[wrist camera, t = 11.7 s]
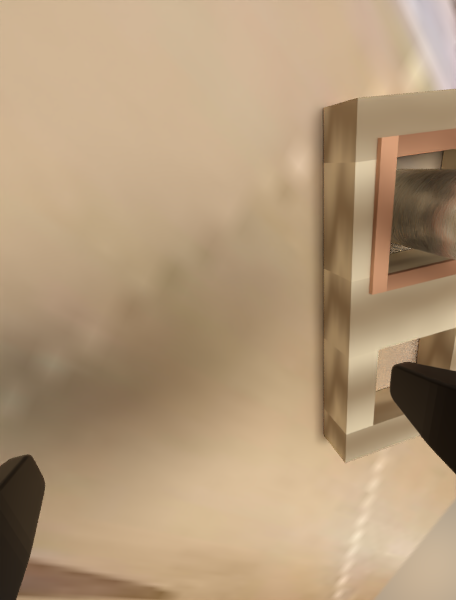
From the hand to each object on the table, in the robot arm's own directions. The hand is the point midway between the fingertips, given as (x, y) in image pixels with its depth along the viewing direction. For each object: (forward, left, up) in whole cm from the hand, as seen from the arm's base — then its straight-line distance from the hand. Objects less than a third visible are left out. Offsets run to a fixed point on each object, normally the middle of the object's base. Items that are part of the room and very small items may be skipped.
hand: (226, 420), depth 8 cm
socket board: (+10, -13, -13) cm, 21 cm away
